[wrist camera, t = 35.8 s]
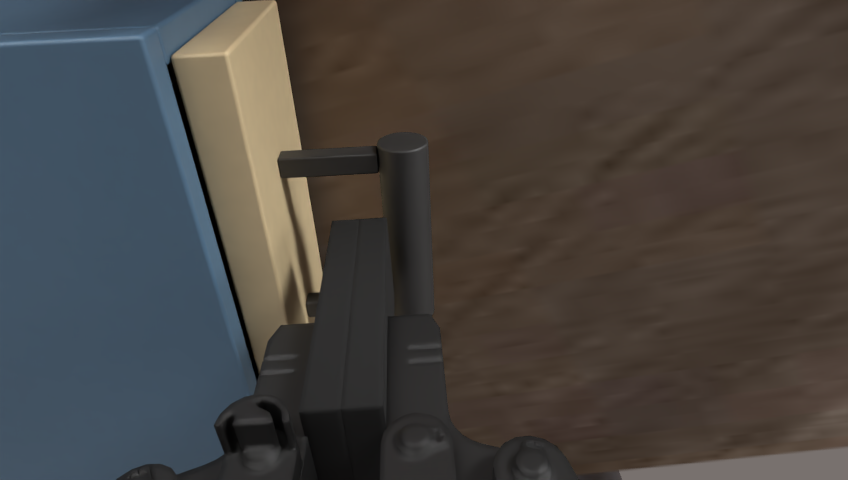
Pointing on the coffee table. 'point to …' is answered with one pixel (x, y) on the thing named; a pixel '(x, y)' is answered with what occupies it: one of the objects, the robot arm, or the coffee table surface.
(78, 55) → the cabinet
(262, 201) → the drawer
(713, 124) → the coffee table surface
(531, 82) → the coffee table surface
